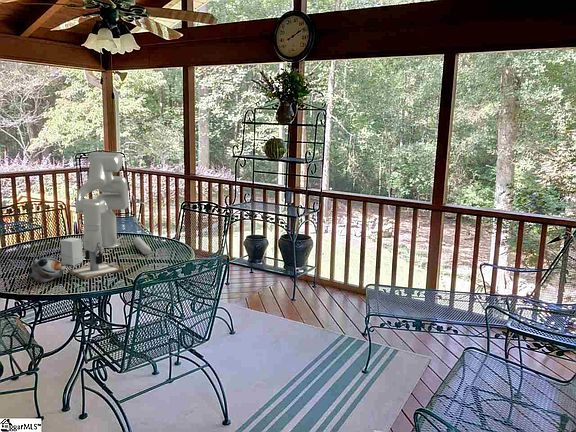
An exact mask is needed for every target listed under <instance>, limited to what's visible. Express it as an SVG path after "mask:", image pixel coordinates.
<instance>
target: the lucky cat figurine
mask: <svg viewBox="0 0 576 432" xmlns="http://www.w3.org/2000/svg"><path fill="white" fill-rule="evenodd" d="M66 268H67V264H62V261H61V262H60V260H58V259H57V258H55V257H51V256H50V257H49V256H45V257H41V258H40V259H38V258H34V260H33V263H32V264H31V265H30V266H29V269H28V276H29V279H30V280H33V281H34V282H35V283H47V282H49V281H52V280H54V279H57V278H59V277H62V275H63V273H64V272H65V270H66Z"/></svg>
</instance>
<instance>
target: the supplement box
mask: <svg viewBox="0 0 576 432" xmlns="http://www.w3.org/2000/svg"><path fill="white" fill-rule="evenodd" d="M82 244H83V241H82V238H76V237H68V238H64V239H61V240H60V253H61V254H60V255H61V263H62V264H65V265H66V266H76V265H79V264H81V263H83V259H84V258H83V245H82Z"/></svg>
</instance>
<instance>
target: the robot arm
mask: <svg viewBox="0 0 576 432" xmlns="http://www.w3.org/2000/svg"><path fill="white" fill-rule="evenodd" d="M87 159H88V163H89V166H88V167H89V169H88V176H87V177H88V178H87V181H86V182H85V183H84V184H82V185H81V186H80V188H79V190H78V191H77V193H76V199H75V211H76V212H77V214H80V215H83V226H84V227H83V228H84V230H83V241H82V244H83V245H82V247H83V249H84V252H85V253H84V255H85V257H84V258H85V261H90V256H89V251H91V252H94V251H95V253H96V264H102V263H104V262H103V259H104V258H103V255H104V250H105V249H104V248H109V249H115V248H119V247H120V242H118V240H117V239H118V238H117V235H118V233H117V229H118V228H117V216H116V214H115V212H113V210H127V209H128V208H129V203H130V202H129V187H128V179H126V178H125V177H124V176H117V175H116V176H114V175H113V173H118V172H120V170H121V168H122V165H123V155H122V154H121V153H120V152H110V151H109V152H106V151H105V152H104V151H92V152H90V153H88V156H87ZM97 190H98V191H99V192H100V193H99V194H98V195H97V197H96V198H84V197H85V196H87V195H88V194H90V193H92V192H94V191H97ZM97 249H98V250H97Z"/></svg>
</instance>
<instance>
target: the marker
mask: <svg viewBox="0 0 576 432" xmlns="http://www.w3.org/2000/svg"><path fill="white" fill-rule="evenodd" d="M97 250H98V249H97ZM89 256H90V260H89V266H90V271H98V270H99V264H96V253H95V251H94V252H91V251H89Z"/></svg>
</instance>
